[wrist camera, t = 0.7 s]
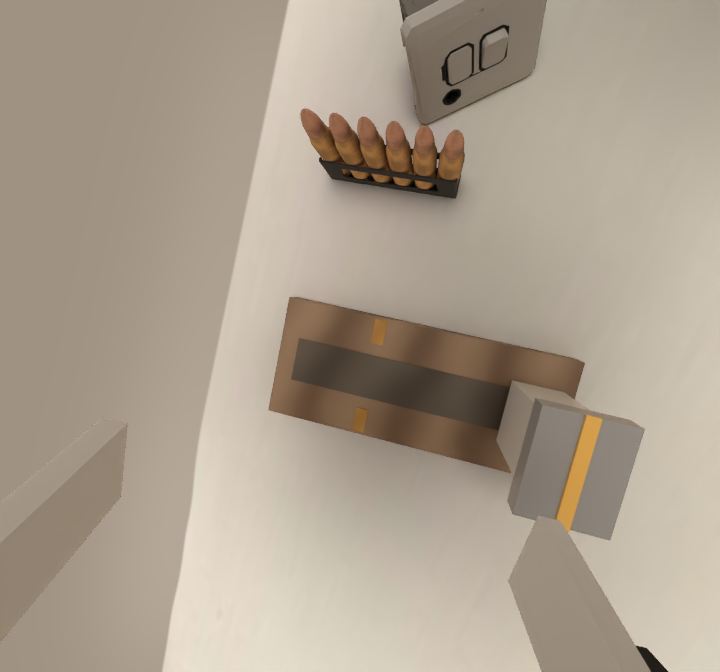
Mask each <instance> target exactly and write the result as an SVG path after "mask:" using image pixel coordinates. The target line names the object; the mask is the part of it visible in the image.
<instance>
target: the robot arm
mask: <svg viewBox="0 0 720 672" xmlns="http://www.w3.org/2000/svg"><path fill="white" fill-rule="evenodd" d="M127 427H128V423H124V422H120V421H116V420H111V419H107V418H101V419H100V420H99V421H98V422H97V423H95V424H94V425H93V426H91V427H90V428H89V429H88V430H87V431H85V432H84V433H83V434H82V435H81V436H80V437H78V438H77V439H76V440H75V441H73V442H72V443H71V444H70V445H69V446H67V447H66V448H65V449H64V450H63V451H61V452H60V453H59V454H58V455H56V456H55V457H54V458H53V459H52V460H51V461H49V462H48V463H47V464H46V465H44V466H43V467H42V468H41V469H39V470H38V471H37V472H36V473H35V474H34V475H32V476H31V477H30V478H29V479H27V480H26V481H25V482H24V483H23V484H21V485H20V486H19V487H18V488H17V489H15V490H14V491H13V492H12V493H11V494H9V495H8V496H7V497H6V498H4V499H3V500H2V501H1V502H0V643H1V642H2V640H3V639H4V638H5V637H6V635H7V634H8V633H9V632H10V631H11V629H12V628H13V627H14V626H15V625H16V623H17V622H18V621H19V620H20V618H21V617H22V616H23V615H24V614H25V612H26V611H27V610H28V609H29V608H30V606H31V605H32V604H33V603H34V602H35V600H36V599H37V598H38V597H39V596H40V594H41V593H42V592H43V591H44V589H45V588H46V587H47V586H48V585H49V583H50V582H51V581H52V580H53V579H54V577H55V576H56V575H57V574H58V573H59V571H60V570H61V569H62V568H63V566H64V565H65V564H66V563H67V562H68V560H69V559H70V558H71V556H73V554H74V553H75V552H76V551H77V550H78V548H79V547H80V546H81V545H82V543H83V542H84V541H85V540H86V539H87V537H88V536H89V535H90V534H91V533H92V531H93V530H94V529H95V528H96V526H97V525H98V524H99V523H100V522H101V520H102V519H103V518H104V517H105V515H106V514H107V513H108V512H109V511H110V510H111V508H112V507H113V506H114V505H115V503H116V502H117V501H118V500H119V499H120V497H121V490H122V480H123V469H124V459H125V448H126V438H127ZM508 581H509V584H510V586H511V589H512V592H513V595H514V597H515V600H516V603H517V606H518V608H519V611H520V614H521V616H522V619H523V622H524V625H525V627H526V630H527V633H528V635H529V638H530V641H531V644H532V646H533V649H534V652H535V655H536V657H537V660H538V663H539V665H540V668H541V671H542V672H668V671H667V670H666V669H665V668H664V666H663V665H662V664H661V663H660V662H659V661H658V660H657V659H656V658H655V657H654V656H653V655H652V653H651V652H650V651H649V650H648V649H647V648H644V647H639V646H635V644H634V643H633V641H632V639H631V637H630V636H629V634H628V632H627V631H626V629H625V627H624V626H623V624H622V622H621V621H620V619H619V617H618V616H617V614H616V612H615V611H614V609H613V607H612V606H611V604H610V602H609V601H608V599H607V597H606V596H605V594H604V592H603V591H602V589H601V587H600V586H599V584H598V582H597V581H596V579H595V577H594V576H593V574H592V572H591V571H590V569H589V567H588V566H587V564H586V562H585V561H584V559H583V557H582V556H581V554H580V552H579V551H578V549H577V547H576V545H575V544H574V542H573V540H572V539H571V537H570V535H569V534H568V532H567V530H566V529H565V527H564V525H563V524H562V522H561V521H559V520H555V519H550V518H546V517H541V516H538V517H537V520H536V522H535V524H534V526H533V528H532V530H531V533H530V535H529V537H528V539H527V541H526V543H525V545H524V548H523V550H522V552H521V554H520V556H519V558H518V560H517V563H516V565H515V567H514V569H513V571H512V573H511V576H510V578H509V580H508Z"/></svg>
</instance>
